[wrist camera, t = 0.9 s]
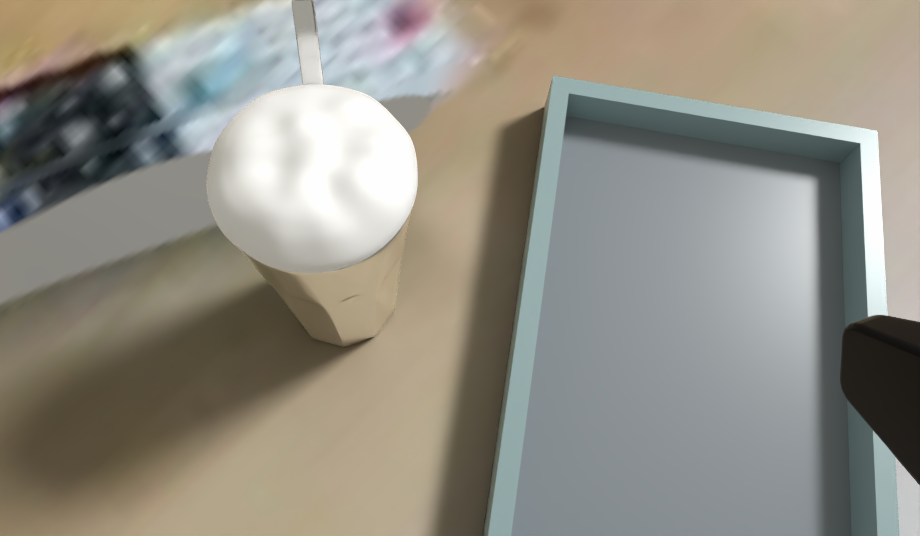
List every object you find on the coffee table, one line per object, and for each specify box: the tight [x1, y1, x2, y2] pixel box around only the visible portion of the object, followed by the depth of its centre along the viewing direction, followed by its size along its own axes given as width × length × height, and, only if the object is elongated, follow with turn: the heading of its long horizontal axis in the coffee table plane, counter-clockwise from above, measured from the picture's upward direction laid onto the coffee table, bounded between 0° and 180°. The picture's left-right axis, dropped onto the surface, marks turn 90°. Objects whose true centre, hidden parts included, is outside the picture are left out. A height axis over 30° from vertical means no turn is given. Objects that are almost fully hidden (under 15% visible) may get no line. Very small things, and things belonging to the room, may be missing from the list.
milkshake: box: [206, 0, 418, 347], centre depth 19 cm, size 4×5×10 cm
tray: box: [483, 76, 899, 536], centre depth 23 cm, size 16×11×2 cm
